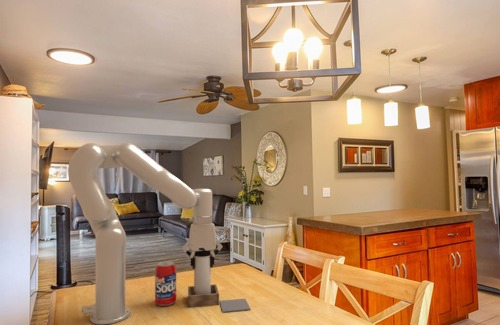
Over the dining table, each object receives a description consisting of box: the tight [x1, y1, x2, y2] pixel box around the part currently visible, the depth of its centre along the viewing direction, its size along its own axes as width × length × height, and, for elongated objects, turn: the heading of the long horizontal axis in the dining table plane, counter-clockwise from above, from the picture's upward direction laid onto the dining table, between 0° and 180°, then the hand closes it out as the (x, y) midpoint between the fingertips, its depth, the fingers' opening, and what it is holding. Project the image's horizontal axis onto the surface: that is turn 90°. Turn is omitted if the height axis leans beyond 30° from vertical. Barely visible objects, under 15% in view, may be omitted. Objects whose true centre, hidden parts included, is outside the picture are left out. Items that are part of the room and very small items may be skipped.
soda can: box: [154, 260, 177, 307], centre depth 124 cm, size 8×8×15 cm
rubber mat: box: [219, 298, 251, 314], centre depth 121 cm, size 10×10×1 cm
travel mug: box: [193, 248, 212, 295], centre depth 127 cm, size 6×7×20 cm
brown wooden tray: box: [187, 283, 220, 308], centre depth 126 cm, size 11×11×4 cm
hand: (202, 266), depth 127 cm, fingers closed on travel mug, 6 cm apart
